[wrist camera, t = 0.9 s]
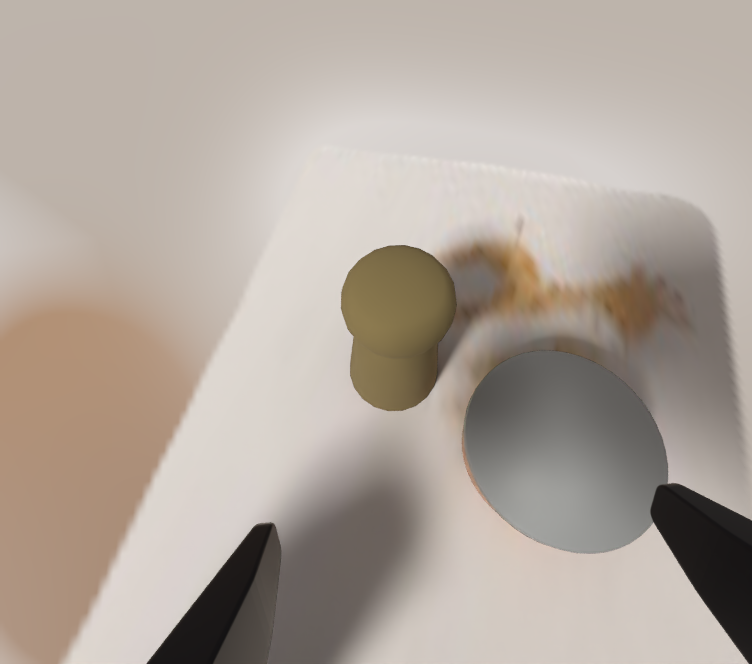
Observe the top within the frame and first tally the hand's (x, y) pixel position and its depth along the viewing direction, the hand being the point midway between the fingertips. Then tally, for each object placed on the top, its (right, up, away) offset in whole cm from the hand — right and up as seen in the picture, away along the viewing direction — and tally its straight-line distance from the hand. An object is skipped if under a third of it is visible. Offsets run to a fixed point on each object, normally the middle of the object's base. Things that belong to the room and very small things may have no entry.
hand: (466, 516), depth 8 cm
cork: (-1, +2, +16) cm, 17 cm away
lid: (+8, -2, +11) cm, 13 cm away
